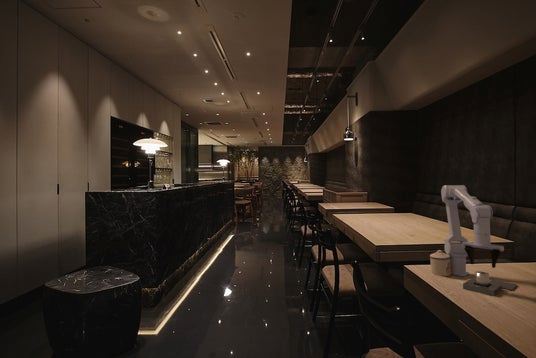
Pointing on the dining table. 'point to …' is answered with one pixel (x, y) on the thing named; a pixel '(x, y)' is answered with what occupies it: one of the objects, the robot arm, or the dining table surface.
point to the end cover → (482, 279)
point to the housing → (482, 287)
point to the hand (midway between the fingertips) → (482, 265)
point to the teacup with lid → (440, 264)
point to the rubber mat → (505, 285)
